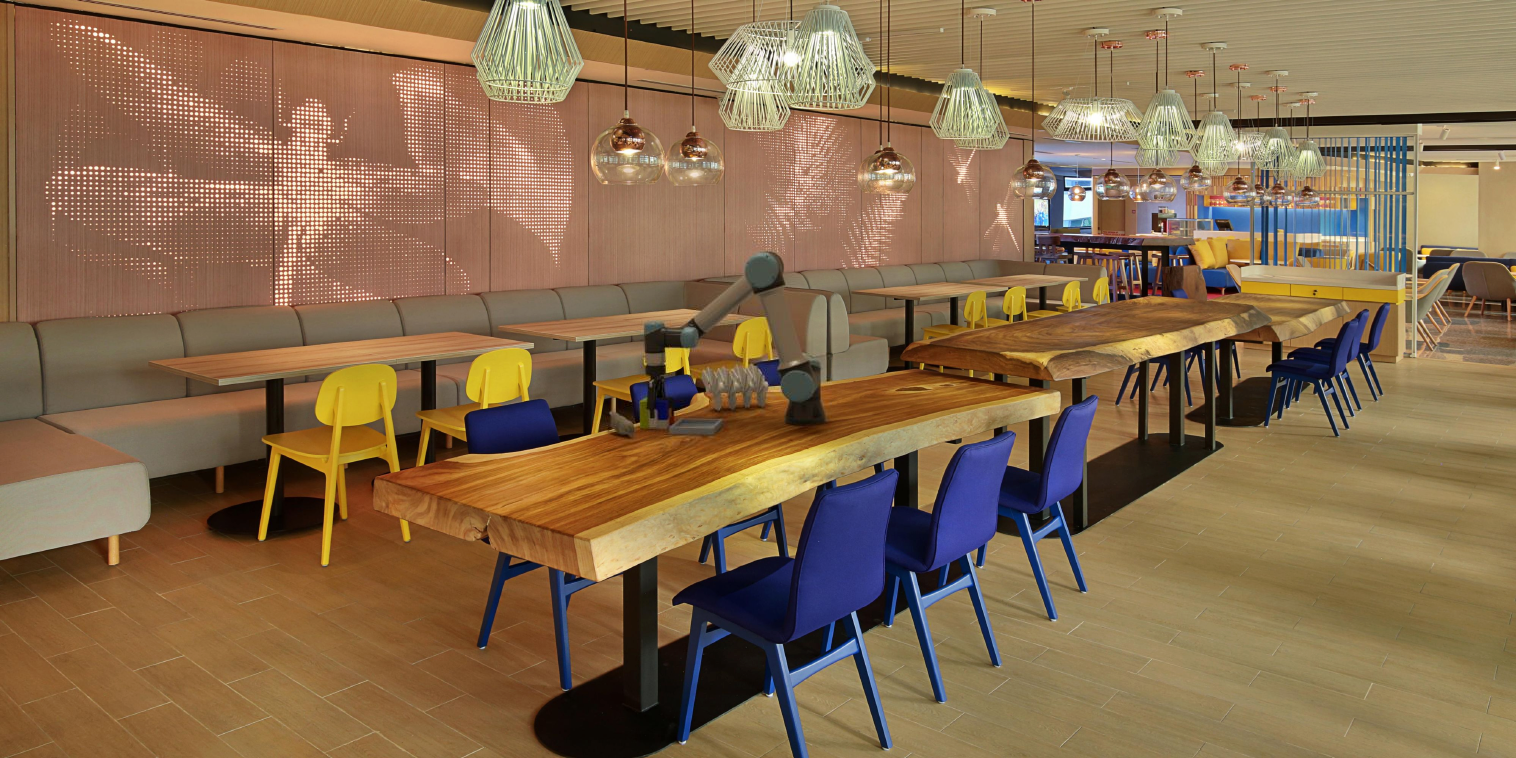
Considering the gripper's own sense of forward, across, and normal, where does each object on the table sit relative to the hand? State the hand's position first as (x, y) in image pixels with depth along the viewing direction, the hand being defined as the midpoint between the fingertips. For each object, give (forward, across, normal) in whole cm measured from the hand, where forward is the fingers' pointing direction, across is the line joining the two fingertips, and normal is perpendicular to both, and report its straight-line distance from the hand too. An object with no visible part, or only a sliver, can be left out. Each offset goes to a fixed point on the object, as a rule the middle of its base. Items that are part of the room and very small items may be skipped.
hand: (657, 423), depth 378 cm
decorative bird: (+1, +15, -9) cm, 18 cm away
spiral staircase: (+1, -35, +23) cm, 42 cm away
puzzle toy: (+1, 0, 0) cm, 1 cm away
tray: (+1, +5, +16) cm, 17 cm away
